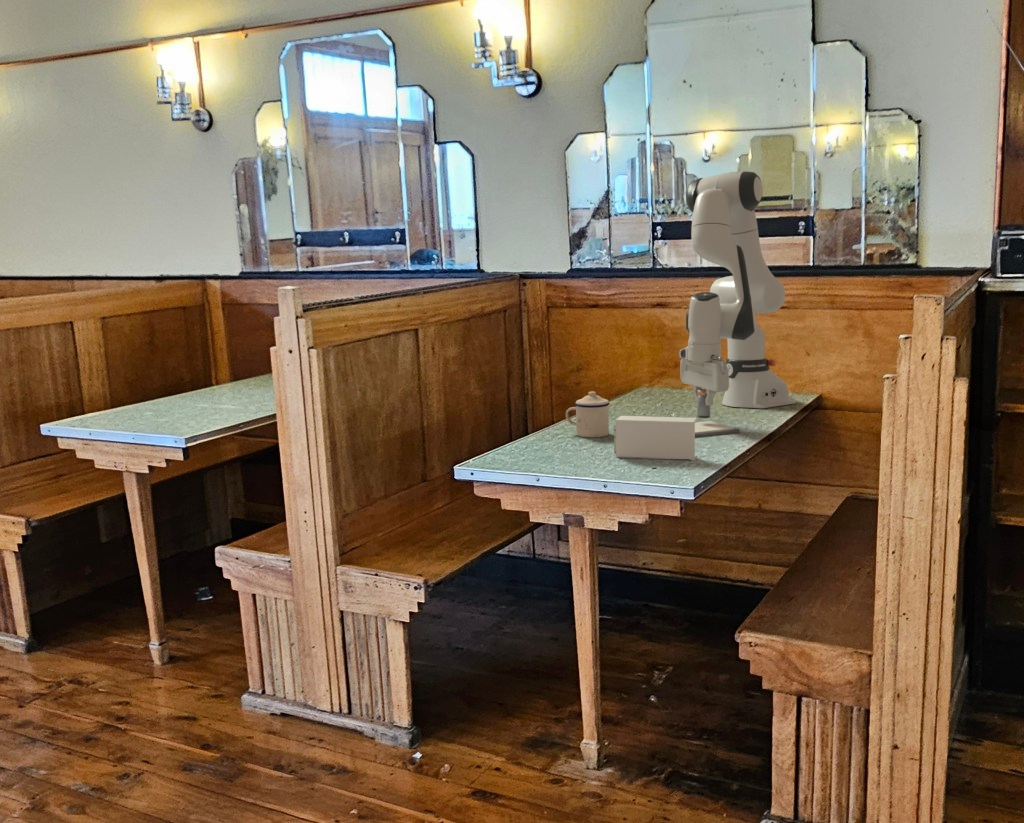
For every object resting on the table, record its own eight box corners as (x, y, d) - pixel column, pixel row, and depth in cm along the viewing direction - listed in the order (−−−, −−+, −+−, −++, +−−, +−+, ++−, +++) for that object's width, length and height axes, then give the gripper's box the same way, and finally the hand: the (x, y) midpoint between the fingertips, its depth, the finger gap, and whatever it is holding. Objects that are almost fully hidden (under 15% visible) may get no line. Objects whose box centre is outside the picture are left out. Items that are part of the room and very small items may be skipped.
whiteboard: (712, 423, 292) (712, 420, 291) (739, 432, 279) (739, 428, 278) (631, 432, 283) (631, 428, 283) (655, 441, 270) (655, 437, 270)
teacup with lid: (613, 432, 284) (613, 389, 282) (604, 438, 276) (604, 395, 274) (571, 430, 288) (570, 388, 286) (561, 436, 280) (560, 393, 278)
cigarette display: (697, 456, 252) (697, 417, 251) (694, 461, 247) (694, 422, 245) (616, 453, 258) (615, 415, 257) (610, 457, 253) (610, 419, 252)
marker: (706, 415, 288) (706, 388, 287) (712, 417, 285) (713, 390, 283) (694, 416, 287) (695, 389, 286) (701, 418, 284) (701, 391, 282)
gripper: (735, 356, 274) (734, 408, 277) (696, 349, 293) (695, 398, 296) (714, 358, 272) (713, 410, 274) (676, 350, 291) (675, 399, 293)
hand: (704, 404), depth 285 cm, fingers closed on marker, 3 cm apart
